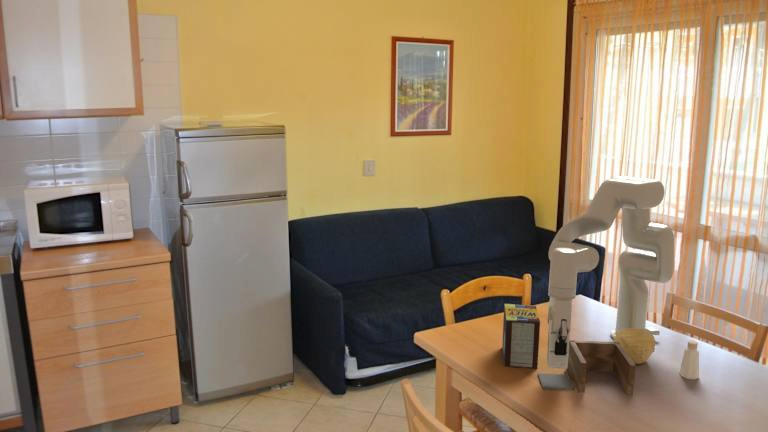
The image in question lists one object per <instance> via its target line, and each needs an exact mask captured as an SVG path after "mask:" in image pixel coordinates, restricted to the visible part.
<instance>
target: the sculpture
mask: <svg viewBox="0 0 768 432" xmlns="http://www.w3.org/2000/svg"><path fill="white" fill-rule="evenodd" d="M612 342H619V343H620V345H621V346H622V347H623V349H624V350H625V351H626V353H627V354H628V355H629V357H630V358H631V360H632V361H633V362H634V364H635V365H640V364H643V363H645V362H646V361H648V360H649V359H650V357H651V356H652V354H653V353H654V352H655V349H656V348H655V347H656V344H657V342H656V338H655V335H652V334H650V333H648V332H646V331H644V330H643V329H635V328H626V329H623V330H621V331H619V332H618V333H617V334H616V336H615V338H613V341H612Z"/></svg>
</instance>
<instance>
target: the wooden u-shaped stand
mask: <svg viewBox="0 0 768 432" xmlns="http://www.w3.org/2000/svg"><path fill="white" fill-rule="evenodd" d="M636 367H637V364H634V362H633V361H632V360H631V358H630V357H629V355H628V354H627V353H626V351H625V350H624V349H623V347H622V346H621V345H620V343H619V342H613V341H596V340H595V341H594V340H571V339H569V357H568V368H567V370H568V373H569V374H570V376H571V379H572V381H573V383H574V386H575V387H576V389H577V392H578V393H583V394H584V393H585V390H586V389H585V388H586V377H587V374H586V373H587V371H594V372H613V374H614V376H615V377H616V379H617V380H618V383H620V385H621V387H622V389H623V390H624V391H625V393H626V394H627V395H629V396H634V388H635V378H636V377H635V376H636Z"/></svg>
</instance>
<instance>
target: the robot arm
mask: <svg viewBox="0 0 768 432" xmlns="http://www.w3.org/2000/svg"><path fill="white" fill-rule="evenodd" d="M664 198H665V187H664V185H663V183H662V182H661V181H660V180H657V179H653V178H652V179H651V178H640V177H633V176H623V175H622V176H621V175H618V176H617V175H616V176H613V177H611V178H609V179H605V180H604V181H603V182H602V183H601V184H600V186H599V187H598V189H597V191H596V193H595V194H594V196H593V199H592V200H591V201H590V203H589V205H588V207H587V209H586V211H585V212H584V213H582V214H581V215H579V216H576V217H575V218H573V219H572V220H569V221H568V222H567V223H565V224H564V225H562V227H561V228H560V229H559V230H558V231H557V233H556V235H555V236H554V238H553V240H552V241H551V244H550V245H549V248H548V249H549V250H548V259H549V261H550V264H549V266H550V267H549V277H548V278H549V280H548V294H547V295H548V297H549V301H548V303H549V304H548V313H547V324H548V325H549V319H550V318H551V320H552V328H551V330H552V331H553V332H556V341H555V352H554V354H555V355H564V356H565V355H566V349H567V333H569V332H570V333H571V327H572V308H573V307H572V306H573V305H572V303H573V300H575V299H576V293H577V281H578V280H577V279H578V273H585V272H586V273H587V272H591V271H592V270H594V269H596V268H597V266H598V264H599V261H600V255H599V251H598V250H597V249H596V248H594V247H593V246H590V245H585V244H580V243H576V242H573V241H575V239H576V240H577V239H579V238H580V237H584V236H587V235H592V234H593V235H594V234H598V233H601V232H605V231H608V230H609V229H610V228H611V227H612V225H613V224H614V222H615V219H616V218H617V216H618V214H619V213H620V210H621V213H622V216H621V217H622V218H621V219H622V239H623V240H622V241H623V243H624V245H625V246H626V247H628V248H630V249H626V250H624V251H622V252H621V253H620V255H619V257H618V263H617V265H618V272H619V273H618V274H619V286H618V287H619V289H618V299H617V309H616V321H615V328H614V329H611V331H610V336H611V338H612V339H614V338H615V336H616V334H617V333H618V332H619V331H621V330H623V329H626V328H635V329H643V330H644V331H646V332H648V333H650V334H652V335H653V336H660V334H661V333H660V332H661V331H660V330H659V329H654V328H653V327H648V326H646V324H647V323H646V322H647V312H648V304H649V295H650V293H649V287H648V284H647V283H646V281H648V282H653V283H659V284H666V283H669V282H670V281H671V280H672V278H673V276H674V272H675V271H674V269H675V234H674V231H673V228H671V227H670V226H668V225H666V224H661V223H656V222H652V221H651V216H650V215H651V212H650V211H651V209H652V208H656V207H658V206H659V205H660V204H661V203H662V201H663V200H664ZM631 248H632V249H631ZM559 329H561V330H562V331H558V330H559ZM567 329H568V330H567ZM559 333H560V334H561V335H560V337H559Z"/></svg>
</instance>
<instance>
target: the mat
mask: <svg viewBox="0 0 768 432" xmlns="http://www.w3.org/2000/svg"><path fill="white" fill-rule="evenodd" d="M537 377H538V379H539V382H540V385H541V387H542V389H543V390H553V391H555V390H557V391H576V390H575V389H576V388H575V385H574V384H573V382H572V380H571V379H572V378H570V376H569V374H565V373H564V374H562V373H561V374H559V373H542V372H541V373H537Z"/></svg>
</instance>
